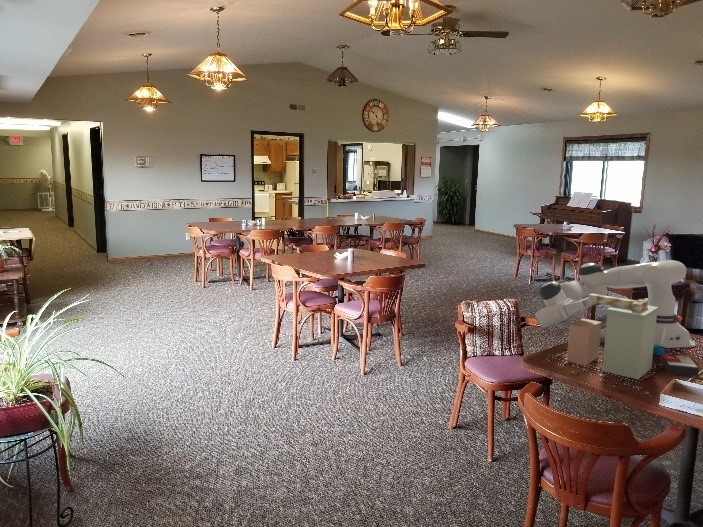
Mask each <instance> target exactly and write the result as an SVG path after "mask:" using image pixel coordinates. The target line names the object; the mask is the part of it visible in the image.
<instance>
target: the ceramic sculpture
mask: <svg viewBox="0 0 703 527" xmlns="http://www.w3.org/2000/svg"><path fill="white" fill-rule="evenodd" d="M605 335H606V328H605V329H602V328H601V332H600V344H601V343H605Z"/></svg>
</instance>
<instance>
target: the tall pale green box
mask: <svg viewBox="0 0 703 527" xmlns="http://www.w3.org/2000/svg"><path fill="white" fill-rule="evenodd" d="M658 308H659V307H655V306H649V305H648V308H646V309H644V310H642V311H641V312H636V311H631V309H630V308H624V307H618V306H612V305H611V306H610V307H608V308H606V325H605V326H606V327H605V329H606V335H605V342H604V350H603V361H602V362H603V363H602V371H603V372H606V373H611V374H614V375H618V376H623V377H626V378H631V379H634V380H635V379H636V380H640V378H642V377H643V376H644V375H645V374H646V373H647V372H649V371H650V370H652V367H653V358H654V357H653V355H654V352H653V348H654V338H655V328H656V318H657V312H658Z"/></svg>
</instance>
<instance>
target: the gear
mask: <svg viewBox="0 0 703 527" xmlns="http://www.w3.org/2000/svg"><path fill="white" fill-rule="evenodd" d="M664 350H665V349H664V348H663V347H661V346H659V345H654V348H653V354H655V356H659V355H662V354H664V355H665V351H664Z"/></svg>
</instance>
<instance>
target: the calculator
mask: <svg viewBox="0 0 703 527" xmlns="http://www.w3.org/2000/svg"><path fill="white" fill-rule="evenodd" d="M659 362H660V364H661V365H662V367H663V368H664V370H665V372H666V374H672V375H673V374H674V375H682V376H683V375H684V376H691V377H692V376H694V377H699V374H700V372H699V370H700V367H699V366H697V364H696V363H695V362H694V361H693V360H692V359H691V358H690V357H689V356H685V355H684V356H683V355H672V354H665V353H664V354H662V355H660V356H659Z"/></svg>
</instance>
